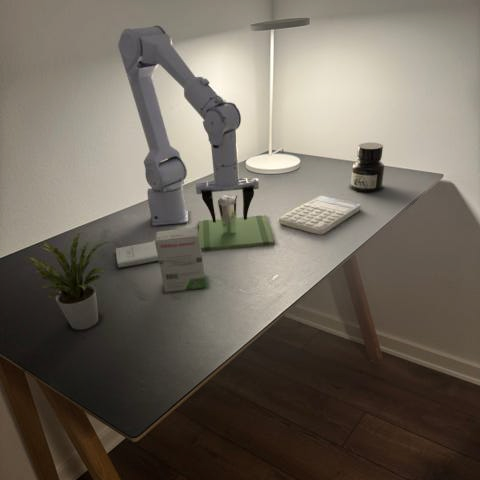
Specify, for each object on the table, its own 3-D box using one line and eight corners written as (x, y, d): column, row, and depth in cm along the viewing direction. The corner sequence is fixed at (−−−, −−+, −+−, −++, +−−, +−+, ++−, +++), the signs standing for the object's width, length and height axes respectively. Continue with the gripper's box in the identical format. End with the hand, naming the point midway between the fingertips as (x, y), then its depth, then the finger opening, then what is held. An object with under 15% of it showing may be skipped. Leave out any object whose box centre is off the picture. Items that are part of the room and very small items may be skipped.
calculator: (277, 223, 116) (277, 217, 114) (319, 199, 127) (320, 193, 126) (321, 236, 108) (321, 229, 107) (362, 209, 120) (362, 202, 119)
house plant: (116, 290, 93) (97, 216, 84) (137, 323, 83) (117, 243, 73) (46, 312, 88) (17, 236, 78) (58, 350, 78) (27, 268, 68)
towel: (199, 251, 106) (198, 247, 105) (199, 223, 119) (198, 220, 118) (274, 244, 106) (274, 241, 106) (266, 218, 119) (266, 214, 119)
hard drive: (173, 259, 103) (118, 269, 101) (167, 244, 110) (116, 253, 107) (171, 252, 102) (117, 262, 100) (166, 238, 109) (115, 247, 106)
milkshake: (233, 238, 108) (231, 198, 102) (216, 233, 111) (213, 194, 105) (245, 231, 111) (242, 192, 105) (228, 227, 114) (225, 188, 108)
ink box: (205, 276, 96) (199, 225, 89) (206, 289, 92) (199, 235, 85) (164, 281, 95) (155, 229, 88) (164, 293, 91) (154, 240, 84)
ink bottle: (343, 188, 134) (346, 146, 127) (361, 180, 138) (365, 139, 131) (371, 195, 128) (376, 152, 121) (388, 186, 132) (394, 144, 125)
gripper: (193, 171, 98) (200, 228, 105) (259, 165, 98) (261, 223, 106) (193, 161, 103) (200, 217, 111) (255, 156, 104) (257, 212, 112)
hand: (229, 219), depth 109 cm, fingers open, 7 cm apart
